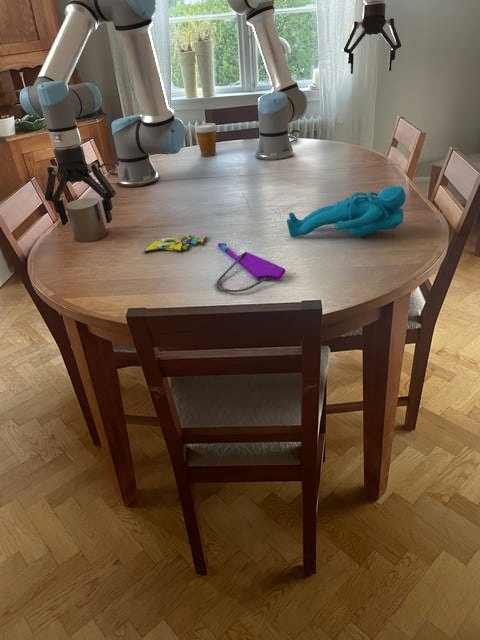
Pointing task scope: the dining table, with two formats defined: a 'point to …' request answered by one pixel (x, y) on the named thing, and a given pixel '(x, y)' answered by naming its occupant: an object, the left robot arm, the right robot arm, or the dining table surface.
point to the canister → (86, 219)
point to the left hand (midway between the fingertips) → (87, 222)
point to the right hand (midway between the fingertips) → (370, 72)
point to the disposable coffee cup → (206, 138)
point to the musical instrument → (252, 267)
